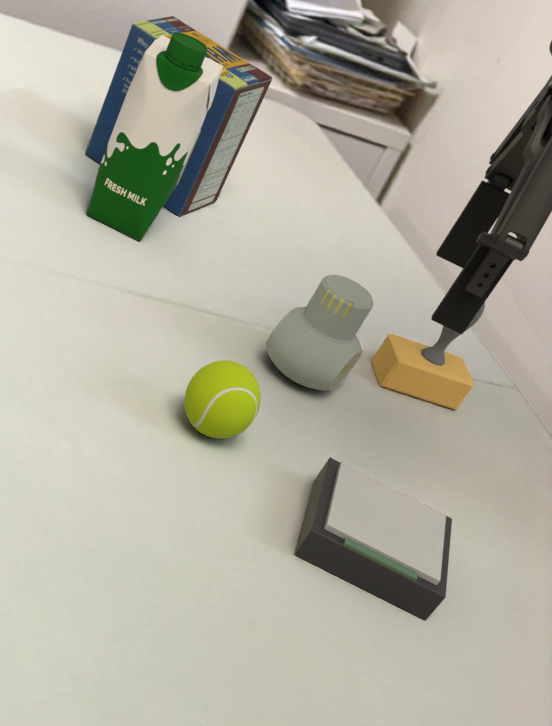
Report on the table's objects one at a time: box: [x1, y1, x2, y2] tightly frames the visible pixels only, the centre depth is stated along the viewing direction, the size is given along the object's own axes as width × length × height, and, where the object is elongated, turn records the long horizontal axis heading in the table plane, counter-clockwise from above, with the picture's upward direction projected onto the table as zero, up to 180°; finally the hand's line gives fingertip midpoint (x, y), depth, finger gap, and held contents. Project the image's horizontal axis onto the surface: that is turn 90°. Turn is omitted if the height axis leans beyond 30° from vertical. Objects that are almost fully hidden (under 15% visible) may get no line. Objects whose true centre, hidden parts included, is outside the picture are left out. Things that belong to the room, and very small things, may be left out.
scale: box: [294, 457, 453, 621], centre depth 99 cm, size 13×13×4 cm
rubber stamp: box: [370, 301, 486, 410], centre depth 121 cm, size 10×6×12 cm, turn 89°
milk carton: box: [86, 33, 223, 242], centre depth 121 cm, size 9×9×20 cm
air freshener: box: [265, 274, 375, 391], centre depth 115 cm, size 11×8×10 cm
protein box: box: [84, 15, 273, 217], centre depth 133 cm, size 10×15×16 cm
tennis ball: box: [183, 359, 262, 439], centre depth 102 cm, size 7×7×7 cm
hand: (448, 291), depth 91 cm, fingers open, 13 cm apart
